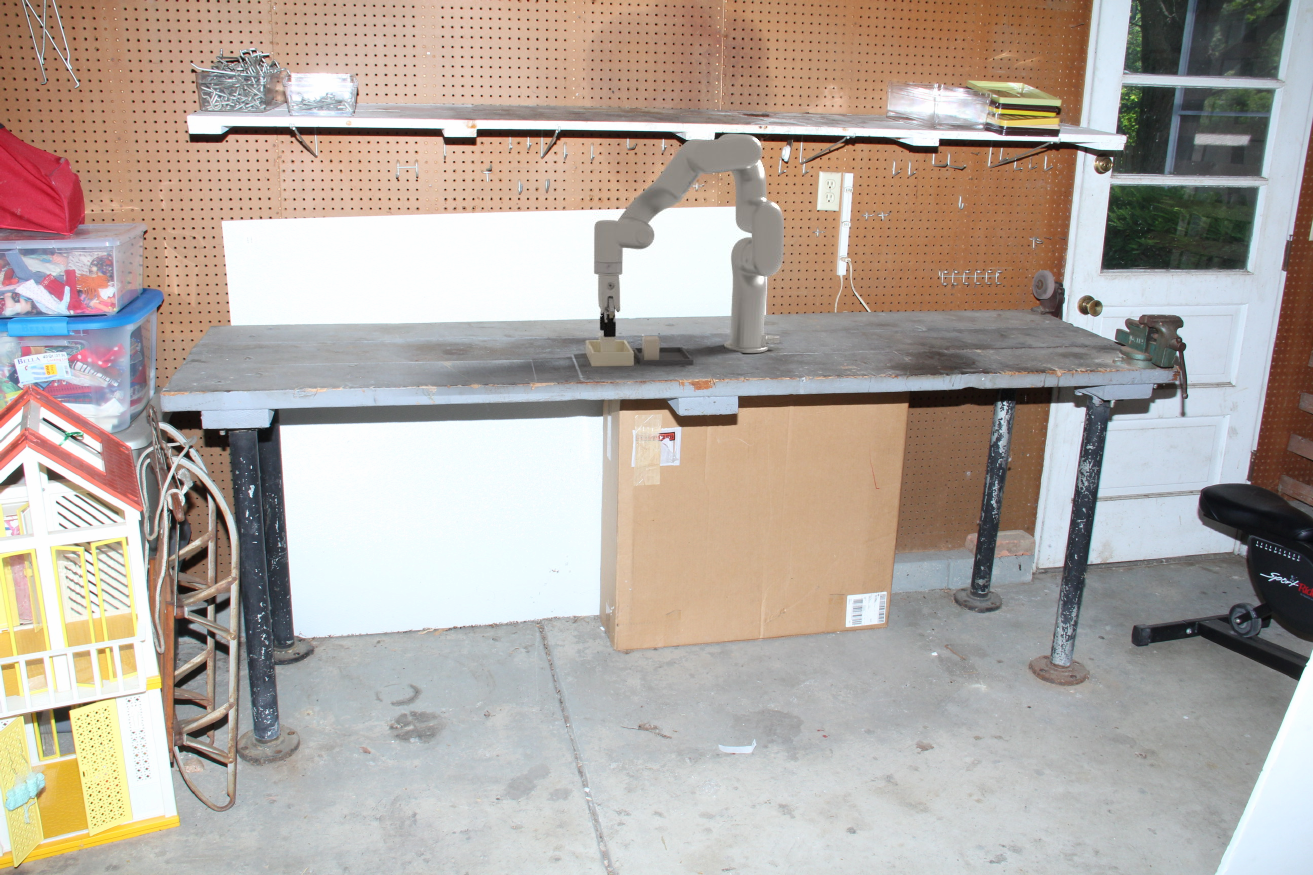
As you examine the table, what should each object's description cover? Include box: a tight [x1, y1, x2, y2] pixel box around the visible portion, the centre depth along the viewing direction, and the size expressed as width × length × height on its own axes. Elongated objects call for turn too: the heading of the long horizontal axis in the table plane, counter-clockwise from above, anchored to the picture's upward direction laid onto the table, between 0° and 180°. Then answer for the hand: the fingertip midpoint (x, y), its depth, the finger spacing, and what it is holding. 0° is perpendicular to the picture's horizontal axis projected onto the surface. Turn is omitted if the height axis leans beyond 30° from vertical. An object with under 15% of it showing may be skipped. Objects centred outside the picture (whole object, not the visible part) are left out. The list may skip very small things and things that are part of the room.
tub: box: [585, 339, 635, 367], centre depth 263 cm, size 11×15×4 cm
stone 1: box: [598, 332, 616, 352], centre depth 266 cm, size 4×4×6 cm
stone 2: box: [641, 335, 660, 360], centre depth 263 cm, size 4×4×6 cm
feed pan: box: [631, 346, 694, 366], centre depth 266 cm, size 14×15×2 cm
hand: (607, 333), depth 265 cm, fingers open, 7 cm apart
